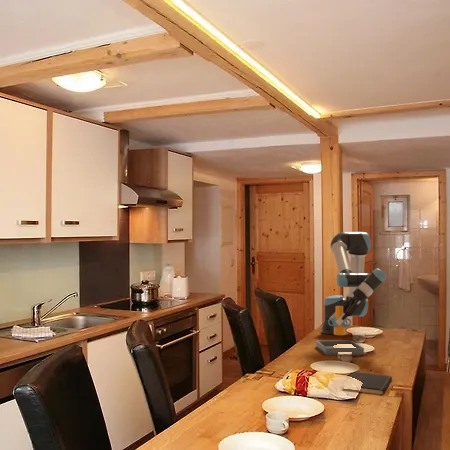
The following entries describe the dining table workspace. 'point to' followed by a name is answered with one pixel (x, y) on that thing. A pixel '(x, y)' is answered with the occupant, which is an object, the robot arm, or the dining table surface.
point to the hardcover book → (372, 382)
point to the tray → (328, 348)
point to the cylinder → (341, 329)
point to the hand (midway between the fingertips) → (334, 321)
